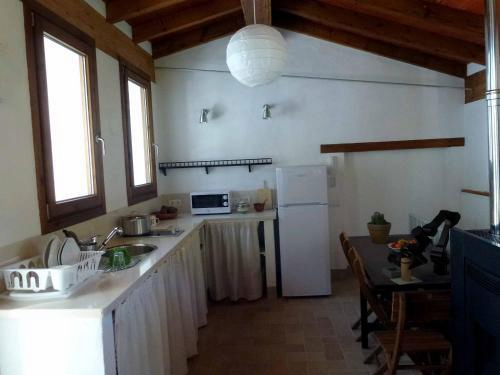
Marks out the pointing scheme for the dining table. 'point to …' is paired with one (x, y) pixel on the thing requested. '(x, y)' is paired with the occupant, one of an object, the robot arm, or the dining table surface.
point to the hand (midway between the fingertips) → (403, 267)
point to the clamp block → (392, 272)
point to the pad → (400, 282)
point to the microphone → (393, 259)
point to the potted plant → (379, 228)
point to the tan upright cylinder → (405, 269)
